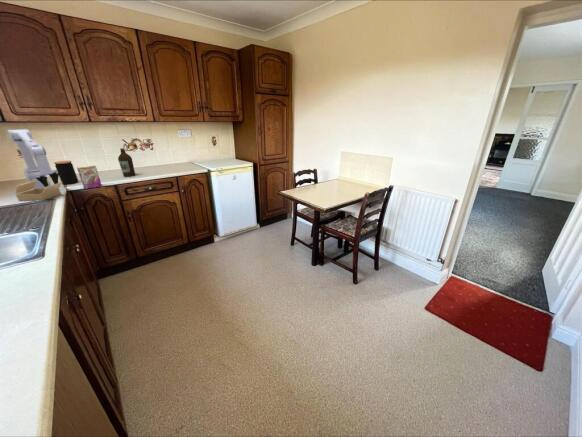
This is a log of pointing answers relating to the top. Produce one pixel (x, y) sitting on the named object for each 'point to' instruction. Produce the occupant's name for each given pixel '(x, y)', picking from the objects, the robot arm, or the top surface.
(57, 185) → the flap
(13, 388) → the top surface
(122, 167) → the olive oil
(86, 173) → the candy bar box
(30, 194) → the carton
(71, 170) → the coffee jar
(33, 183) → the flap
